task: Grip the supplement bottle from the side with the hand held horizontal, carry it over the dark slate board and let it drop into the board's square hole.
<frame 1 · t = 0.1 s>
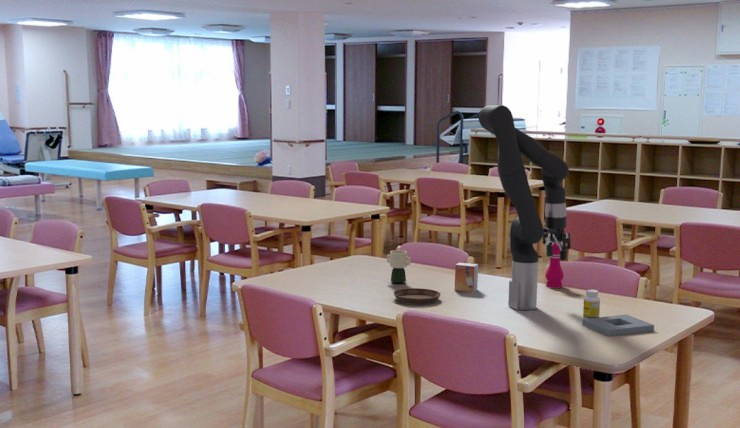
hand: (556, 258, 300), 17 cm above the table, tool pointing down, fingers open, 8 cm apart
small box: (465, 290, 324), on the table
hole board: (617, 327, 272), on the table
supplement bottle: (591, 319, 284), on the table
pepper mill: (554, 286, 332), on the table
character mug: (398, 283, 336), on the table
plant saucer: (416, 301, 307), on the table
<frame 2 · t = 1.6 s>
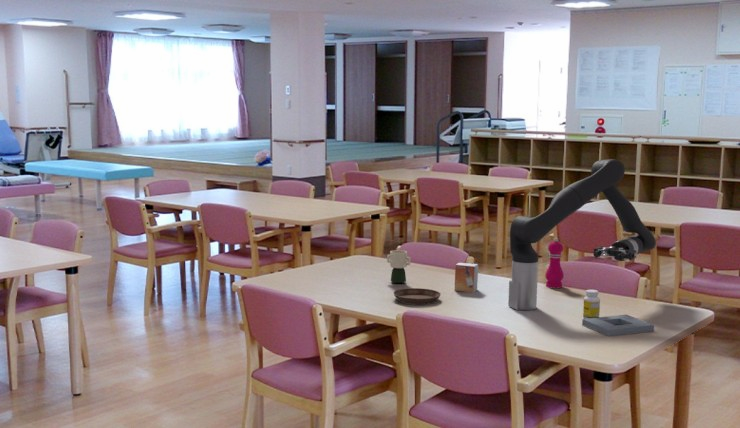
hand: (607, 256, 289), 20 cm above the table, tool horizontal, fingers open, 8 cm apart
nothing on the table moved.
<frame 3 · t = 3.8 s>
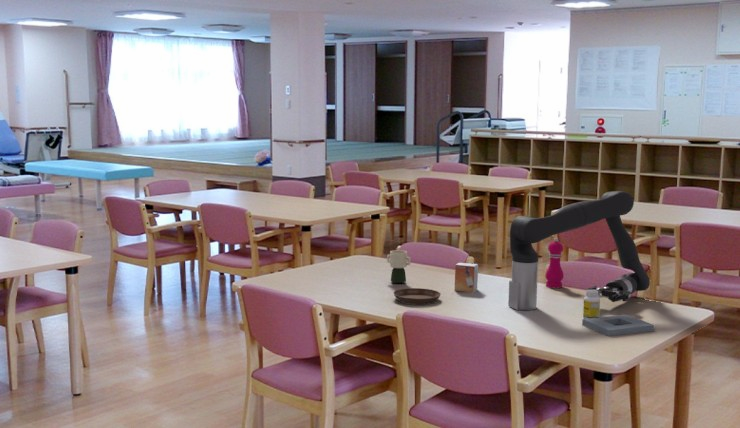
hand: (600, 297, 289), 6 cm above the table, tool horizontal, fingers open, 8 cm apart
nothing on the table moved.
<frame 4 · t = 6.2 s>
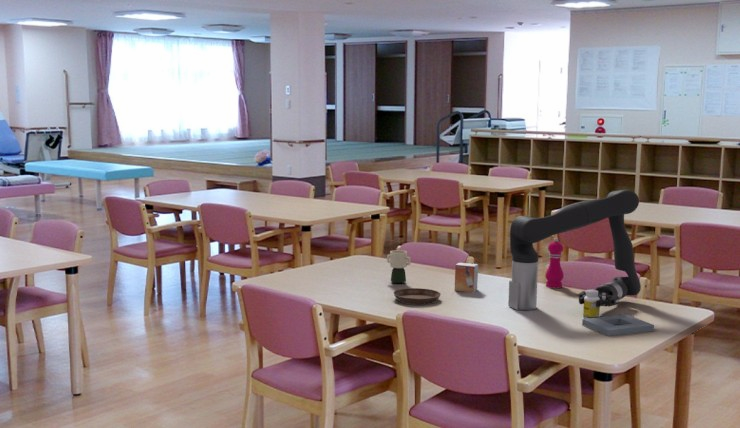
hand: (588, 302, 281), 6 cm above the table, tool horizontal, fingers closed on supplement bottle, 5 cm apart
supplement bottle: (591, 318, 284), on the table, touching gripper
everything else where it was.
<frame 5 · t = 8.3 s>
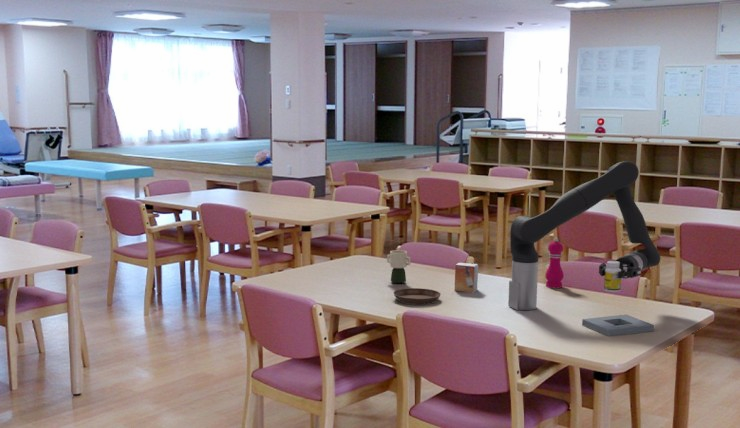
hand: (610, 274, 272), 18 cm above the table, tool horizontal, fingers closed on supplement bottle, 5 cm apart
supplement bottle: (612, 291, 274), point 11 cm above the table, touching gripper
everything else where it was.
when the fingers open (8 cm above the table, at t = 10.9 s): supplement bottle drops 2 cm, resting in hole board.
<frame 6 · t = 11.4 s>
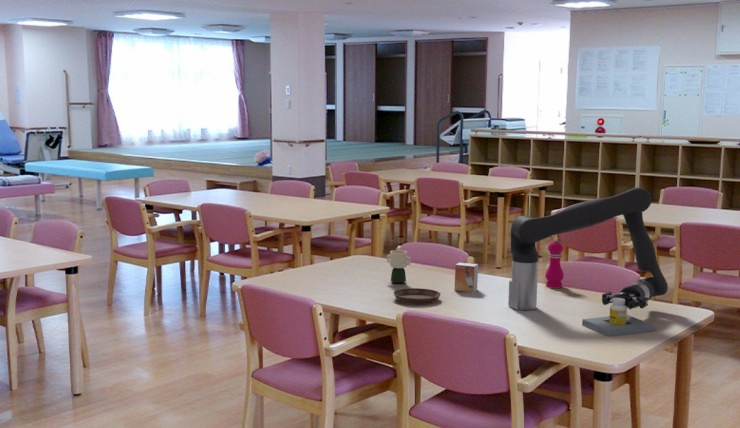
hand: (616, 304, 269), 8 cm above the table, tool horizontal, fingers open, 8 cm apart
supplement bottle: (617, 328, 272), resting in hole board
everything else where it was.
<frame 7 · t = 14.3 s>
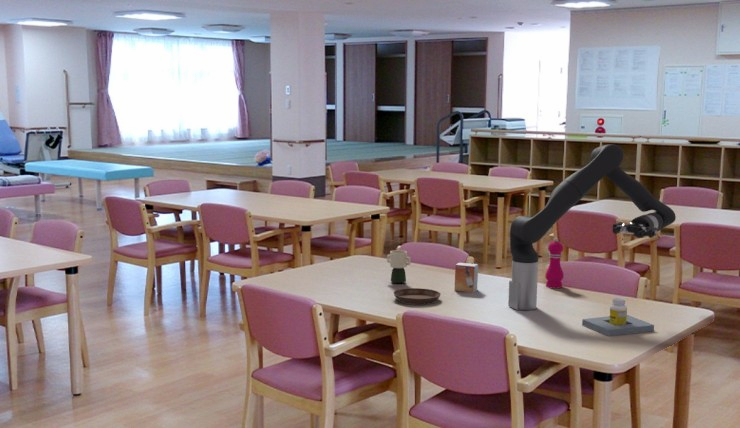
hand: (626, 233, 282), 30 cm above the table, tool horizontal, fingers open, 8 cm apart
nothing on the table moved.
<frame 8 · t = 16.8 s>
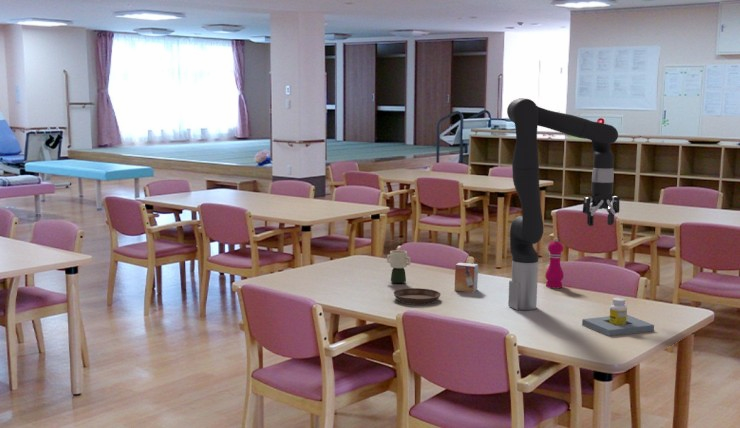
hand: (600, 225, 296), 30 cm above the table, tool pointing down, fingers open, 8 cm apart
nothing on the table moved.
at the end: supplement bottle 0.1 cm off-centre in the hole board, point 0.0 cm above the hole board's base; the gripper is holding nothing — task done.
